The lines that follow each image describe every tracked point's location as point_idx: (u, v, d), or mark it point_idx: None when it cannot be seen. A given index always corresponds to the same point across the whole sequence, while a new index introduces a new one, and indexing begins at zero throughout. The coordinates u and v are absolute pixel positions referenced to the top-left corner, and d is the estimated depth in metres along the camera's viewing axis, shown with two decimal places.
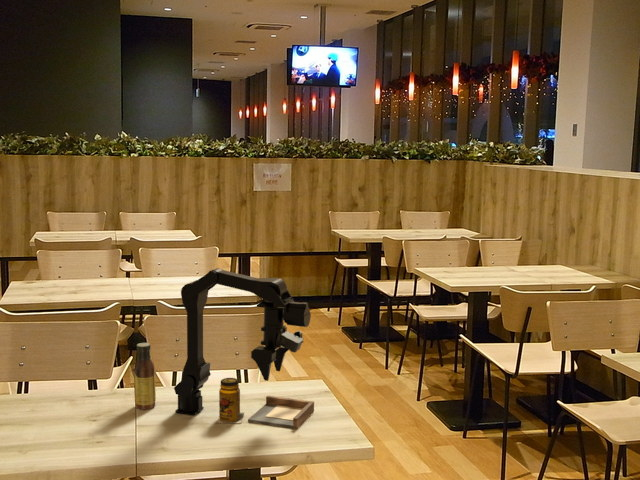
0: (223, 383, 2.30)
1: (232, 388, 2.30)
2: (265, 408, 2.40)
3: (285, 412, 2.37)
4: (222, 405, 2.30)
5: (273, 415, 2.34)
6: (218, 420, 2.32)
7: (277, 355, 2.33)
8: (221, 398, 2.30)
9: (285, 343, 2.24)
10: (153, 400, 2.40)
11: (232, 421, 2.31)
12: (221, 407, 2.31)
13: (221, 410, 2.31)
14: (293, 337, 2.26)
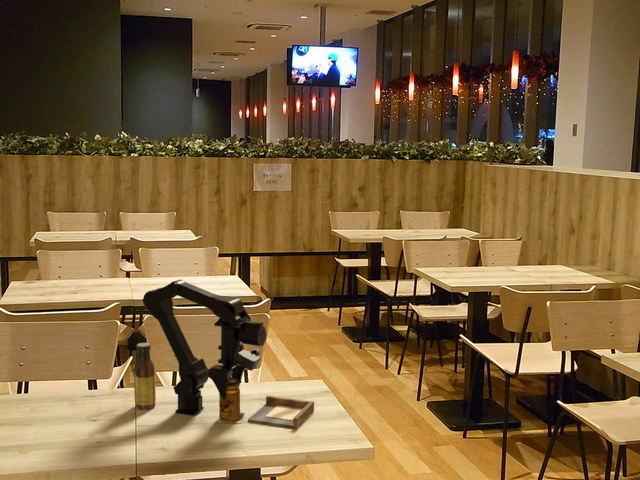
0: None
1: (232, 388, 2.30)
2: (265, 408, 2.40)
3: (285, 412, 2.37)
4: (222, 405, 2.30)
5: (273, 415, 2.34)
6: (218, 420, 2.32)
7: (235, 373, 2.37)
8: (221, 398, 2.30)
9: (241, 361, 2.28)
10: (153, 400, 2.40)
11: (232, 421, 2.31)
12: (221, 407, 2.31)
13: (221, 410, 2.31)
14: (250, 355, 2.30)
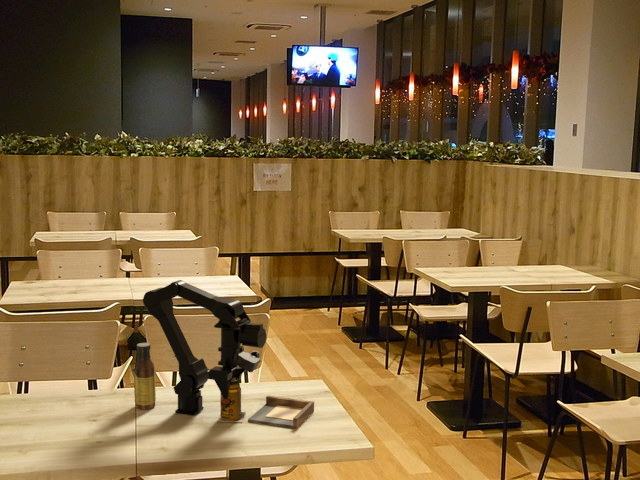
0: None
1: (233, 387, 2.30)
2: (265, 408, 2.40)
3: (285, 412, 2.37)
4: (223, 404, 2.31)
5: (273, 415, 2.34)
6: (219, 419, 2.33)
7: (234, 376, 2.36)
8: (222, 397, 2.31)
9: (241, 363, 2.28)
10: (153, 400, 2.40)
11: (233, 420, 2.31)
12: (222, 406, 2.31)
13: (222, 409, 2.32)
14: (250, 357, 2.30)
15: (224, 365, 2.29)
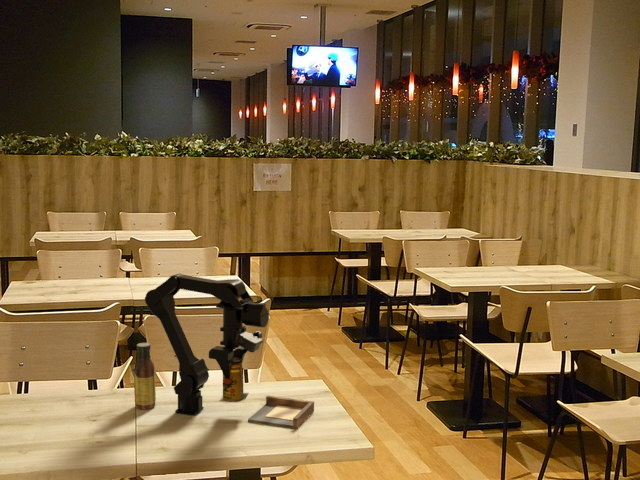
0: None
1: (235, 367, 2.30)
2: (265, 408, 2.40)
3: (285, 412, 2.37)
4: (225, 384, 2.30)
5: (273, 415, 2.34)
6: (221, 399, 2.32)
7: (236, 356, 2.35)
8: (224, 377, 2.30)
9: (243, 343, 2.27)
10: (153, 400, 2.40)
11: (235, 400, 2.31)
12: (224, 386, 2.31)
13: (224, 389, 2.31)
14: (251, 337, 2.29)
15: (226, 345, 2.29)
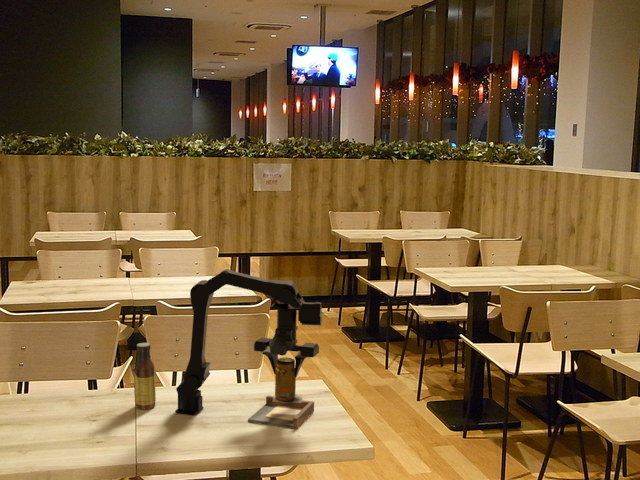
0: None
1: (277, 366, 2.33)
2: (265, 408, 2.40)
3: (285, 412, 2.37)
4: None
5: (273, 415, 2.34)
6: None
7: None
8: None
9: None
10: (153, 400, 2.40)
11: (275, 398, 2.35)
12: None
13: None
14: (279, 341, 2.27)
15: None
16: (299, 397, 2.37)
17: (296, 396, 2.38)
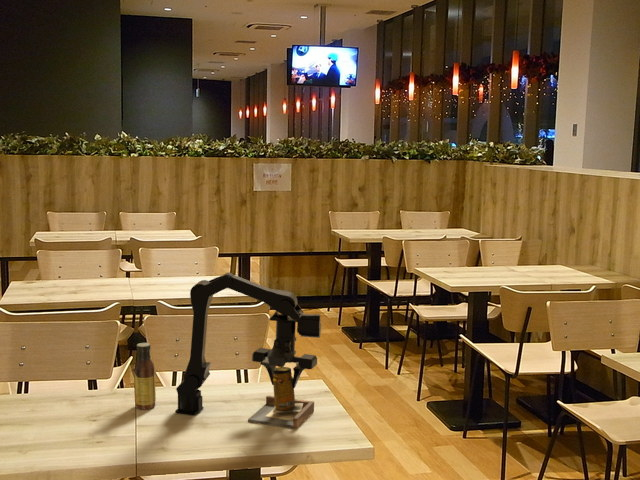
0: None
1: (274, 376, 2.34)
2: (265, 408, 2.40)
3: (285, 412, 2.37)
4: None
5: (273, 415, 2.34)
6: None
7: None
8: None
9: None
10: (153, 400, 2.40)
11: (275, 408, 2.35)
12: None
13: None
14: (277, 352, 2.28)
15: None
16: (299, 405, 2.37)
17: (296, 405, 2.38)
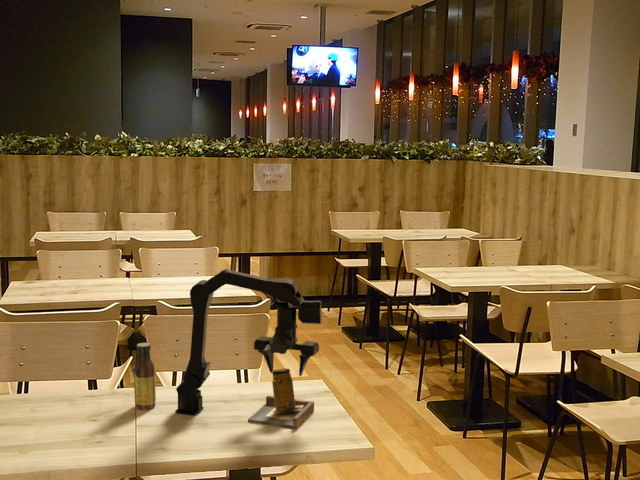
0: None
1: (273, 377, 2.35)
2: (265, 408, 2.40)
3: (285, 412, 2.37)
4: None
5: (273, 415, 2.34)
6: None
7: None
8: None
9: None
10: (153, 400, 2.40)
11: (276, 410, 2.35)
12: None
13: None
14: (279, 339, 2.27)
15: None
16: (300, 406, 2.37)
17: (297, 406, 2.38)
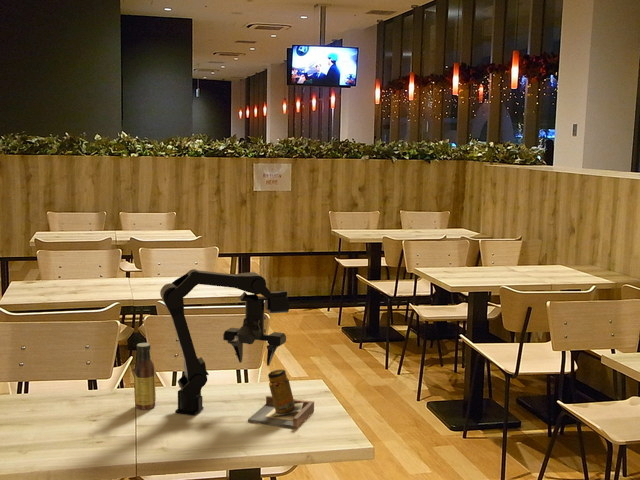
0: None
1: (269, 380, 2.34)
2: (265, 408, 2.40)
3: None
4: None
5: None
6: None
7: None
8: None
9: None
10: (153, 400, 2.40)
11: (276, 412, 2.35)
12: None
13: None
14: (246, 330, 2.36)
15: None
16: (299, 405, 2.37)
17: (296, 405, 2.38)
